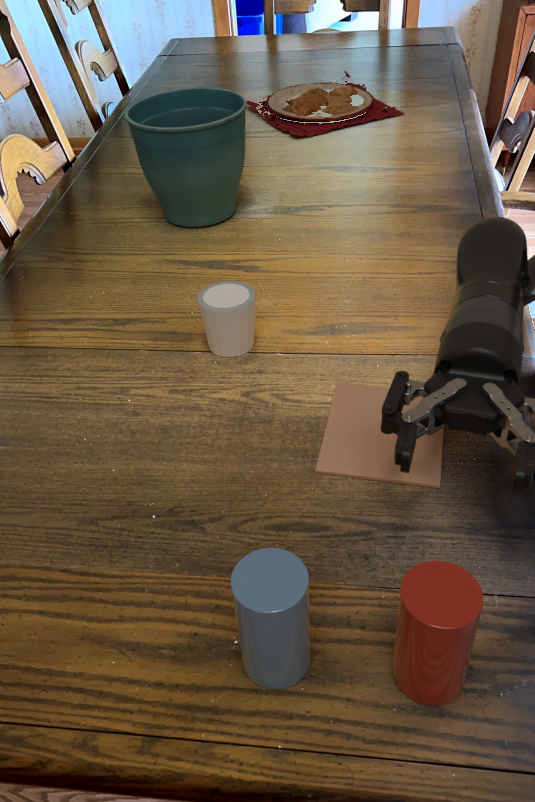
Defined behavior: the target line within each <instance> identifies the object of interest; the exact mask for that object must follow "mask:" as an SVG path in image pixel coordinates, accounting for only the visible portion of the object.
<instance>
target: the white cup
mask: <svg viewBox="0 0 535 802" xmlns="http://www.w3.org/2000/svg"><path fill="white" fill-rule="evenodd" d="M196 300H197V304H198V308H199V311H200V316H201V320H202V324H203V328H204V332H205V337H206V341H207V344H208V348H209V351H210V352H212V353H213V354H214V355H216V356H218V357H221V358H236V357H241V356H243V355H245V354H247V353H249V352H250V351H251V350H252V349H253V348H254V344H255V333H256V331H255V329H256V328H255V325H256V292H255V289H254V287H252V286H251V285H250V284H248V283H245V282H242V281H238V280H236V281H235V280H224V281H218V282H214V283H212V284H209V285H207V286H205V287H203V289H201V290H200V291H199V292H198V295H197V297H196Z"/></svg>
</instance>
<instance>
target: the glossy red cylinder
mask: <svg viewBox="0 0 535 802" xmlns="http://www.w3.org/2000/svg"><path fill="white" fill-rule="evenodd" d="M483 593H484V592H483V590H482V587H481V585H480V584H479V582H478V580H477V579H476V578H475V577H474V575H473V574H472V573H470V572H469V571H468V570H467V569H465V568H464V567H462V566H460V565H459V564H456V563H453V562H451V561H446V560H439V559H438V560H435V559H434V560H427V561H422V562H419V563H417V564H416V565H414V566H413V567H411V568H410V569H409V570H408V571H406V573H405V574H404V575H403V577H402V579H401V582H400V586H399V597H398V607H397V615H396V625H395V634H394V642H393V654H392V663H391V668H392V669H391V670H392V671H391V672H392V676H393V679H394V682H395V685H396V686H397V687H398V688H399V690H400V691H401V692H402V693H403V694H404V695H405V696H406V697H407V698H408V699H410V700H411V701H414V702H415V703H417V704H421V705H425V706H431V707H432V706H433V707H435V706H443V705H446V704H448V703H450V702H452V701H454V700H455V699H456V698H458V696H459V695H460V694H461V692H462V690H463V689H464V686H465V682H466V679H467V674H468V670H469V666H470V661H471V658H472V653H473V649H474V644H475V640H476V637H477V633H478V628H479V624H480V619H481V615H482V611H483V607H484V594H483Z"/></svg>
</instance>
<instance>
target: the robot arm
mask: <svg viewBox="0 0 535 802" xmlns="http://www.w3.org/2000/svg"><path fill="white" fill-rule="evenodd" d="M455 266H456V267H455V291H454V297H453V300H452V304H451V308H450V312H449V317H448V319H447V321H446V322H445V323H446V324H445V326H444V328H443V331H442V332H441V335H440V338H439V347H438V351H437V356H436V359H435V364H434V368H433V372H432V375H431V377H430V378H428V379H427V380H426V381H419V380H414V379H410V373H409V372H408V371H406V370H398V371H396V372H395V374H394V376H393V379H392V381H391V383H390V386H389V388H390V389H389V391H388V394H387V396H386V398H385V401H384V403H383V406H382V422H381V429H380V430H381V432H382V433H384V434H392V433H394V434H396V435H397V436H398V437H397V441H396V445H395V452H394V462H395V464H396V465H401V467H400V472H405V473H409V471H410V467H411V462H412V458H413V454H414V450H415V446H416V439H418V438H420V437H421V436H423V435H425V434H427V435H432V434H433V433H435V432H437V431H438V430H440V429H442V428H444V429H445V427H448V430H450V431H456V432H469V433H472V434H475V435H479V436H485V437H486V436H487V434H489V435H490V436H491V438H493V440H494V441H495V442H496V443H497V444H498V445H499V446H500V447H501V448H502V449H507V450H508V451H509V452H510V453H511V454H512V456H514V459H513V466H512V477H511V488H510V492H511V493H516V494H521V493H522V489H523V488H524V489H529V488H530V486H531V485H532V483H533V479H534V474H535V431H534V430H533V429H531V427H530V426H528V424H527V423H526V422H525V421H524V416H523V414H522V413H525V414H527V415H529V418H530V420H531V421H532V422H533V423H532V425H533V426H534V427H535V398H533V397H525V395H524V393H523V391H521V387H520V386H521V375H522V364H523V355H524V352H525V343H524V341H525V340H524V331H523V322H524V313H525V312H524V311H525V307H526V306H527V305H529V304H531V303H532V302H534V301H535V254H533V255H532V256H531V257H530V258H528V241H527V236H526V233H525V231H524V229H523V228H522V227H521V226H520V225H519V224H518V223H517V222H516V221H514V220H512V219H510V218H508V217H505V216H488V217H484V218H482V219H479V220H477V221H476V222H474V223H472V224H470V226H469V227H467V229H466V230H465V231H464V232H463V234H462V235H461V236H460V238H459V241H458V243H457V249H456V265H455ZM419 396H422V397H423V399H422V400H421V402H420V404H419V405H418V406H416V407H414V408H412V409H410V410H409V411H407V412H405V413H401V412H402V409H403V407H404V405H406V406H408V405H410V402H411V401H413V400H414V399H415V398H416V397H419Z"/></svg>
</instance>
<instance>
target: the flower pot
mask: <svg viewBox="0 0 535 802" xmlns="http://www.w3.org/2000/svg"><path fill="white" fill-rule="evenodd" d="M246 101H247V99H246V98H245V96H244V95H242V94H240V93H238V92H237V91H234V90H230V89H225V88H221V87H187V88H186V87H185V88H178V89H177V88H176V89H173V90H167V91H162V92H159V93H154V94H151V95H148V96H146V97H143V98H141V99H138V100H137V101H135V102H133V103H132V104H131V105H129V106H128V107H127V108H126V110H125V112H124V118H125V121H126V122H127V123H128V127H129V128H128V129H129V132H130V135H131V138H132V139H133V144H134V147H135V151H136V155H137V158H138V162H139V165H140V167H141V170H142V173H143V175H144V177H145V179H146V181H147V183H148V186H149V187H150V189H151V191H152V192H153V194H154V195H155V197H156V199H157V201H158V203H159V205H160V206H161V210H162V214H163V217H164V218H165V220H166V221H168V222H169V223H170V224H173V225H175V226H179V227H185V228H199V227H200V228H201V227H208V226H212V225H215V224H219V223H221V222H223V221H225V220H228V219H229V218H230V217H232V216H233V215H234V214H235V212H236V211H237V207H238V204H237V196H238V192H239V188H240V182H241V180H242V176H243V172H244V166H245V160H246V109H247V106H248V105H247V103H246Z"/></svg>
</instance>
